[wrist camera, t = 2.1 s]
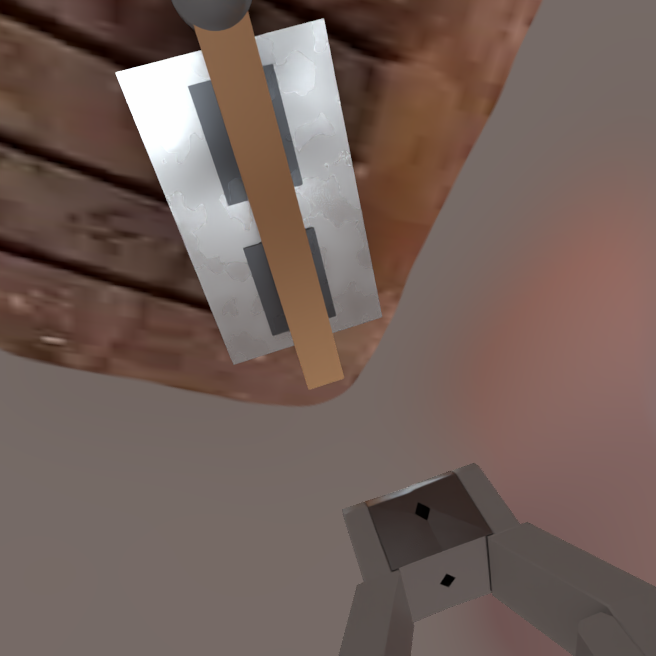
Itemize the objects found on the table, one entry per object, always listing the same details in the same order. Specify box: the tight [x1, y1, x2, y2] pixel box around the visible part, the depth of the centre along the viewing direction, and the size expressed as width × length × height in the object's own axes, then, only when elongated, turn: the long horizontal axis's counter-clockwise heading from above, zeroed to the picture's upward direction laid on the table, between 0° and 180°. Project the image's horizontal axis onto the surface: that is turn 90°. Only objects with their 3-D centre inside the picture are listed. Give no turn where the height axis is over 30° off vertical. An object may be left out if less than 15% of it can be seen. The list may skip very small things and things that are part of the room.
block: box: [116, 18, 382, 365], centre depth 30 cm, size 24×12×6 cm, turn 13°
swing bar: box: [171, 0, 344, 390], centre depth 25 cm, size 23×4×2 cm, turn 13°
